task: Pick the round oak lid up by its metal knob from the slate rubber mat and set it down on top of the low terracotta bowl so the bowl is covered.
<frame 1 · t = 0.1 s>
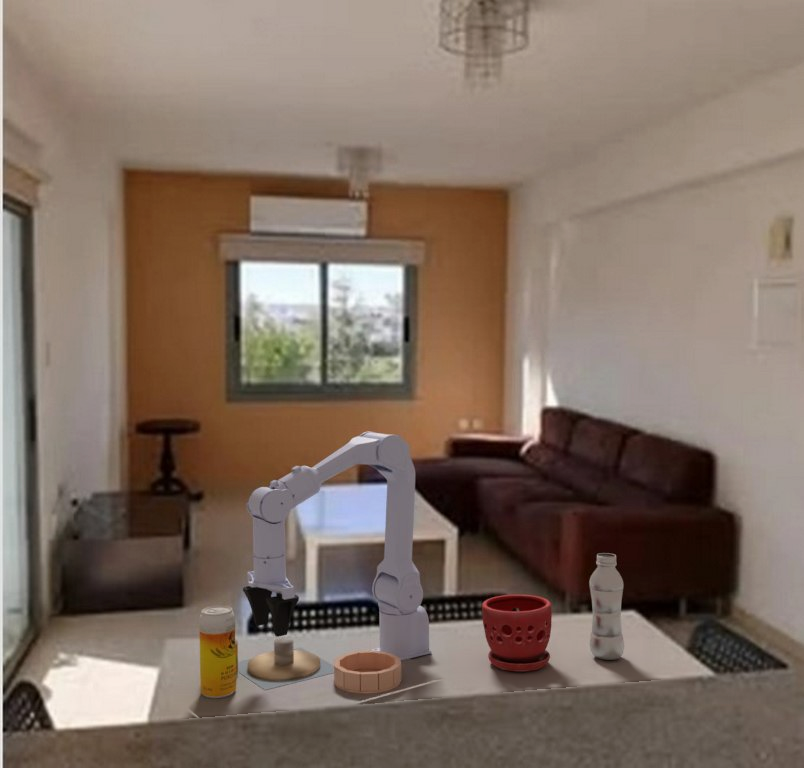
hand: (271, 629, 163), 10 cm above the table, tool pointing down, fingers open, 7 cm apart
lid: (284, 667, 171), resting on mat
beer can: (218, 695, 159), on the table
bowl: (367, 683, 164), on the table
plant pot: (517, 664, 172), on the table
plastic bottle: (606, 658, 175), on the table
supplement bottle: (223, 678, 167), on the table
mat: (284, 669, 171), on the table
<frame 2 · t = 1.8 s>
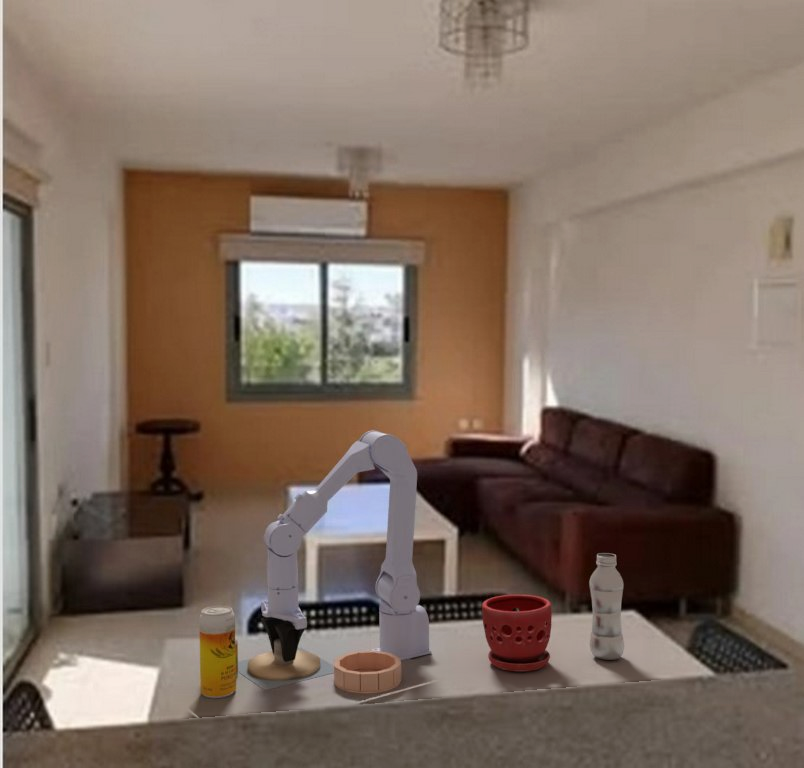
hand: (284, 657, 171), 2 cm above the table, tool pointing down, fingers closed on lid, 4 cm apart
lid: (284, 667, 171), resting on mat, touching gripper
everything else where it was.
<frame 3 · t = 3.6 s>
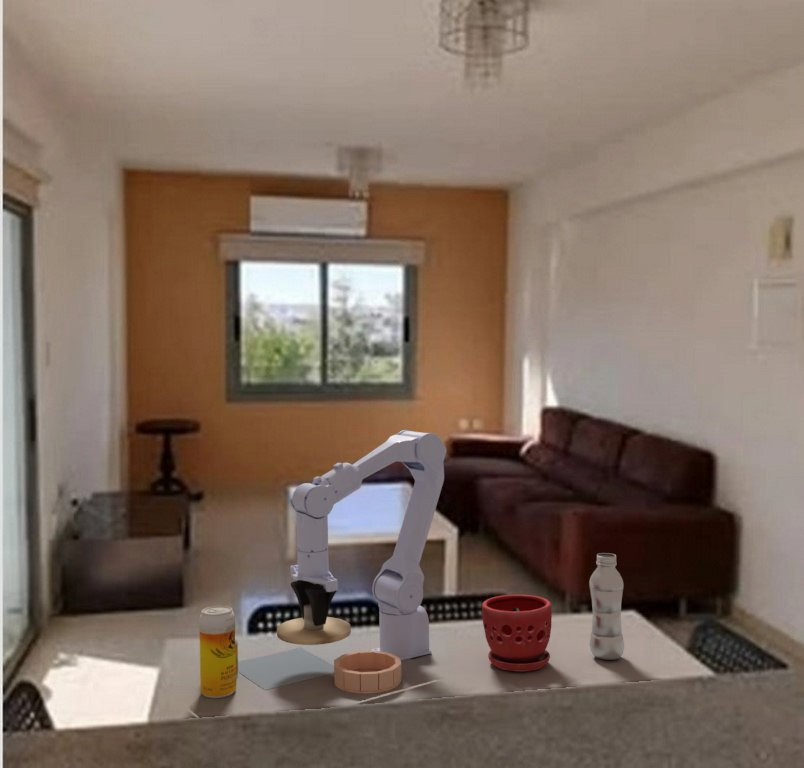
hand: (314, 621, 168), 10 cm above the table, tool pointing down, fingers closed on lid, 4 cm apart
lid: (314, 632, 168), point 8 cm above the table, touching gripper
everything else where it was.
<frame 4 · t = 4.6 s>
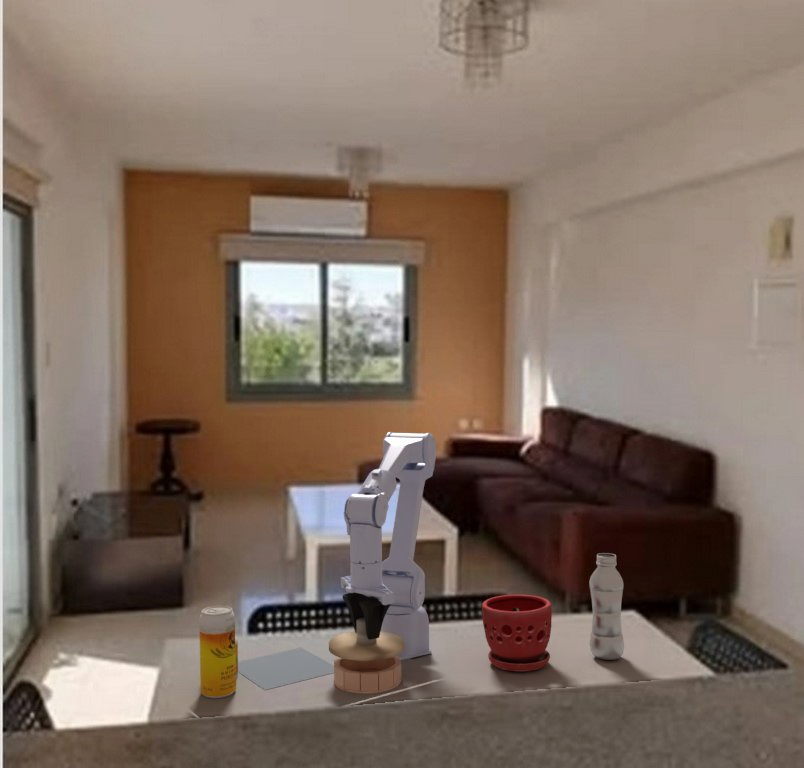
hand: (367, 635, 163), 9 cm above the table, tool pointing down, fingers closed on lid, 4 cm apart
lid: (366, 647, 163), point 6 cm above the table, touching gripper
everything else where it was.
when the fingers open (7 cm above the table, at t = 5.3 s): lid drops 1 cm, resting on bowl.
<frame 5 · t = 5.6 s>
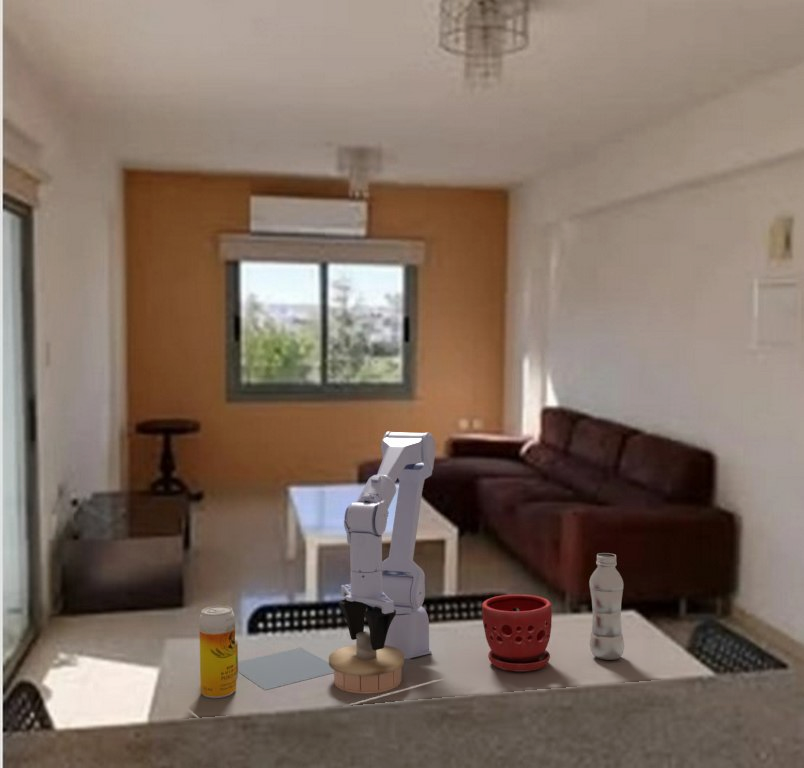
hand: (367, 643, 163), 7 cm above the table, tool pointing down, fingers open, 6 cm apart
lid: (366, 661, 163), point 4 cm above the table, touching bowl
bowl: (367, 683, 164), on the table, touching lid
everything else where it was.
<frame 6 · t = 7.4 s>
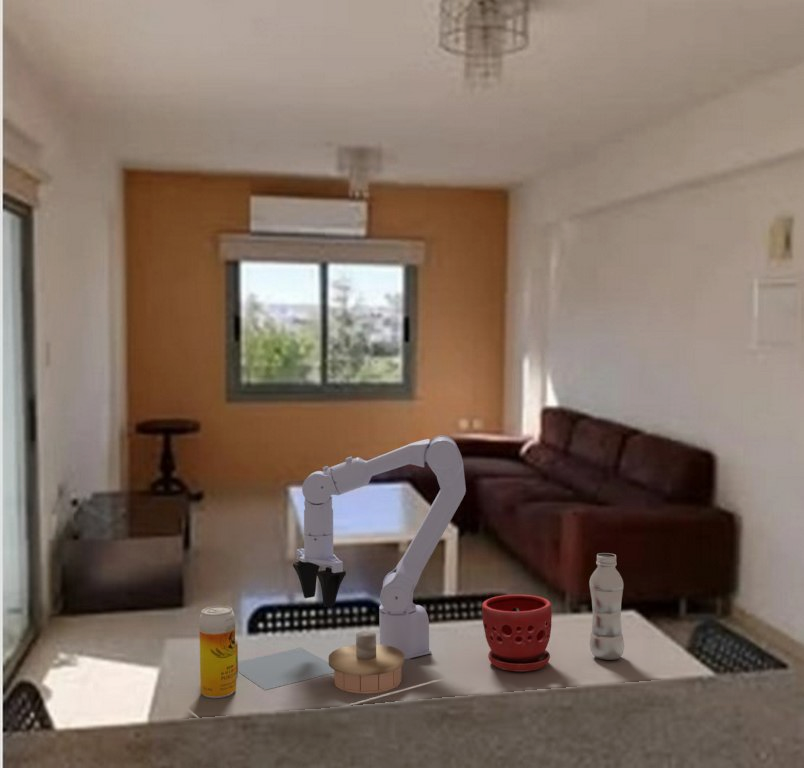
hand: (319, 601, 179), 10 cm above the table, tool pointing down, fingers open, 7 cm apart
nothing on the table moved.
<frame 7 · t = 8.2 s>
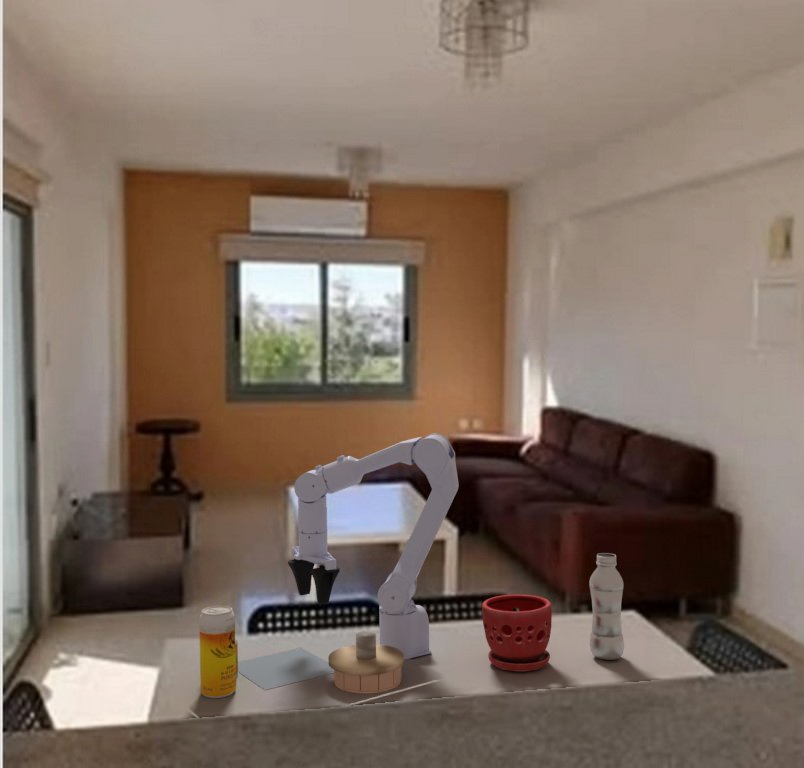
hand: (313, 598, 181), 10 cm above the table, tool pointing down, fingers open, 7 cm apart
nothing on the table moved.
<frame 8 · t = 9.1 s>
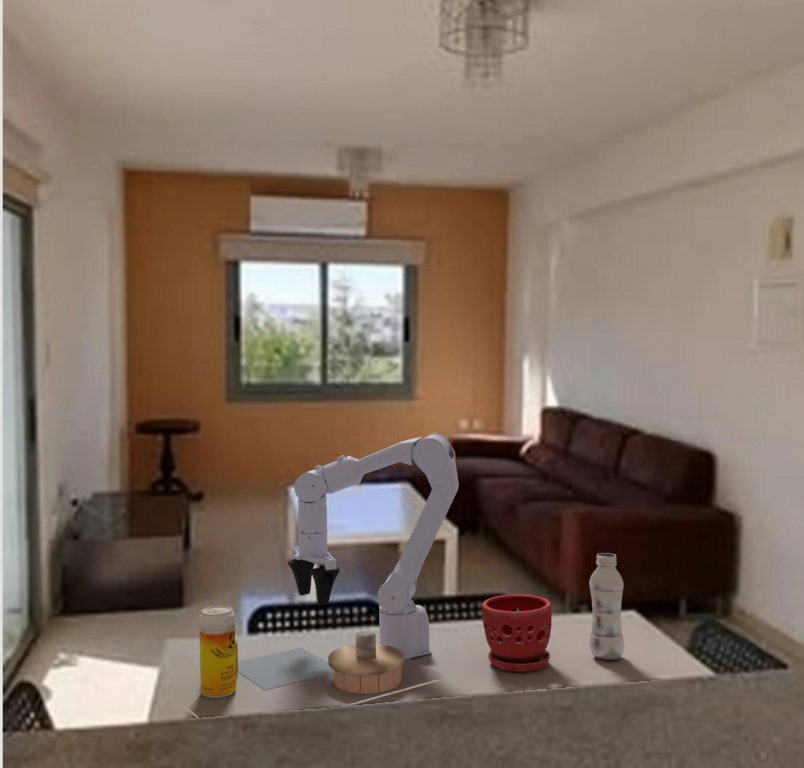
hand: (313, 598, 181), 10 cm above the table, tool pointing down, fingers open, 7 cm apart
nothing on the table moved.
at the end: lid 0.3 cm off-centre on the bowl, point 4.0 cm above the bowl's base; lid tilted 0°; the gripper is holding nothing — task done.
